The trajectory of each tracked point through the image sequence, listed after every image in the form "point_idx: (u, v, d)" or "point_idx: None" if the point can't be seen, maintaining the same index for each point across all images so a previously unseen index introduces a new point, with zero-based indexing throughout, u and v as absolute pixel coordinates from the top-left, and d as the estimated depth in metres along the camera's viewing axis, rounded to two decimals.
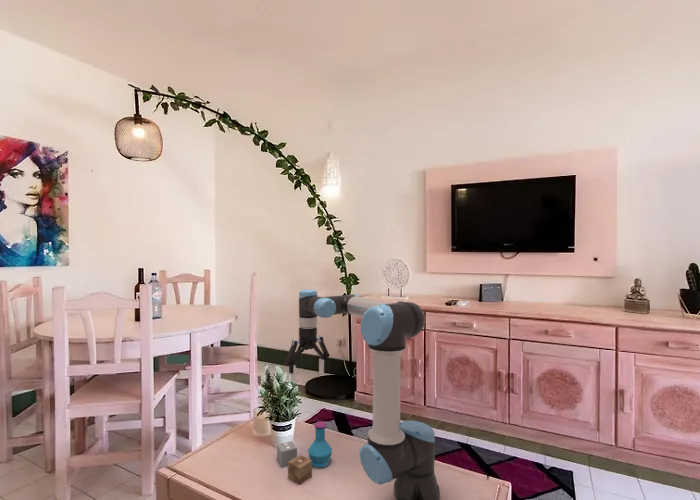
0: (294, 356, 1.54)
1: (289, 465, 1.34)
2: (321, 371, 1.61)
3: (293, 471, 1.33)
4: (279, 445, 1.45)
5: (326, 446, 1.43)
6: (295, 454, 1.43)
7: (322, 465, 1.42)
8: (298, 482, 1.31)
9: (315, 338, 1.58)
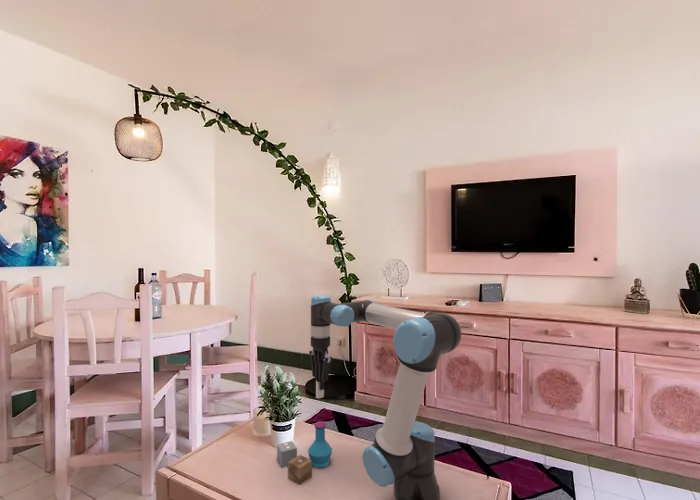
0: None
1: (289, 465, 1.34)
2: None
3: (293, 471, 1.33)
4: (279, 445, 1.45)
5: (326, 446, 1.43)
6: (295, 454, 1.43)
7: (322, 465, 1.42)
8: (298, 482, 1.31)
9: (322, 352, 1.41)
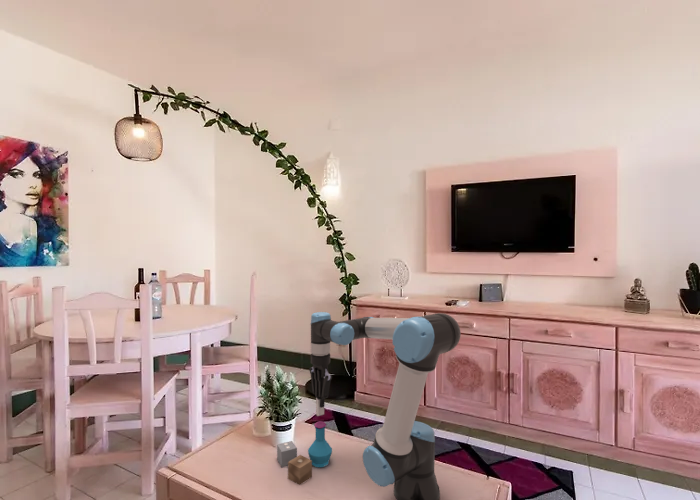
0: None
1: (289, 465, 1.34)
2: None
3: (293, 471, 1.33)
4: (279, 445, 1.45)
5: (326, 446, 1.43)
6: (295, 454, 1.43)
7: (322, 465, 1.42)
8: (298, 482, 1.31)
9: (323, 369, 1.41)
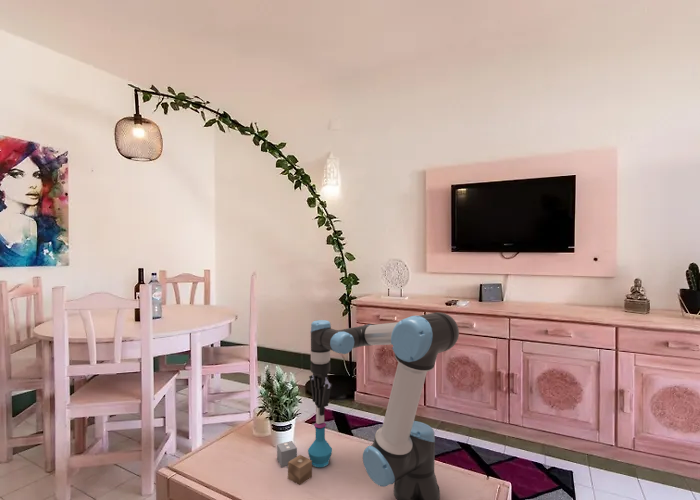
0: None
1: (289, 465, 1.34)
2: None
3: (293, 471, 1.33)
4: (279, 445, 1.45)
5: (326, 446, 1.43)
6: (295, 454, 1.43)
7: (322, 465, 1.42)
8: (298, 482, 1.31)
9: (323, 378, 1.41)
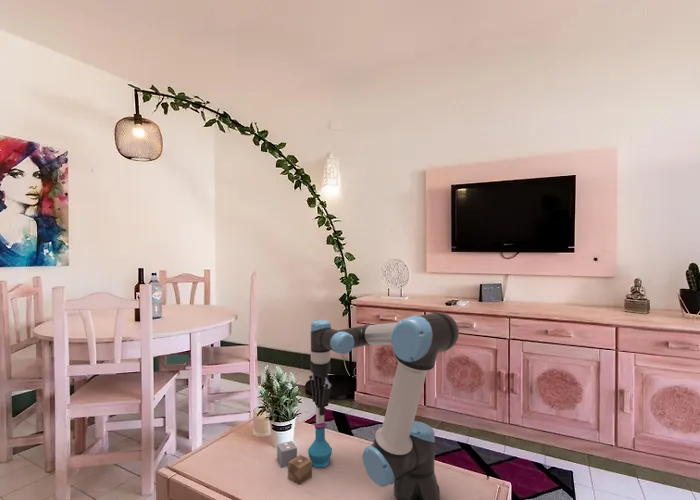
0: None
1: (289, 465, 1.34)
2: None
3: (293, 471, 1.33)
4: (279, 445, 1.45)
5: (326, 446, 1.43)
6: (295, 454, 1.43)
7: (322, 465, 1.42)
8: (298, 482, 1.31)
9: (323, 378, 1.41)
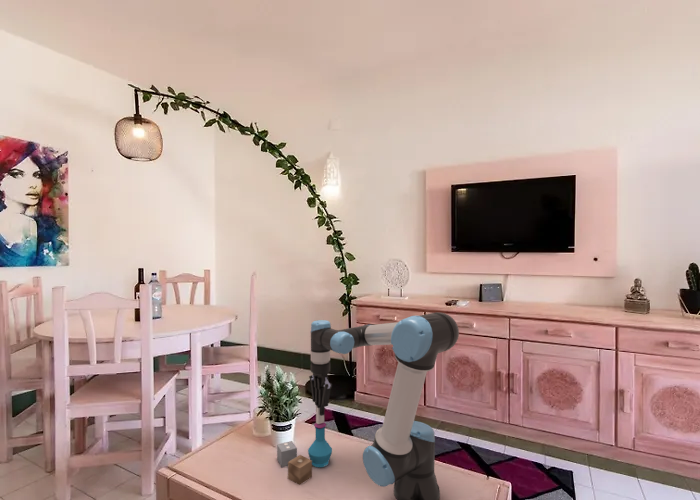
0: None
1: (289, 465, 1.34)
2: None
3: (293, 471, 1.33)
4: (279, 445, 1.45)
5: (326, 446, 1.43)
6: (295, 454, 1.43)
7: (322, 465, 1.42)
8: (298, 482, 1.31)
9: (323, 378, 1.41)
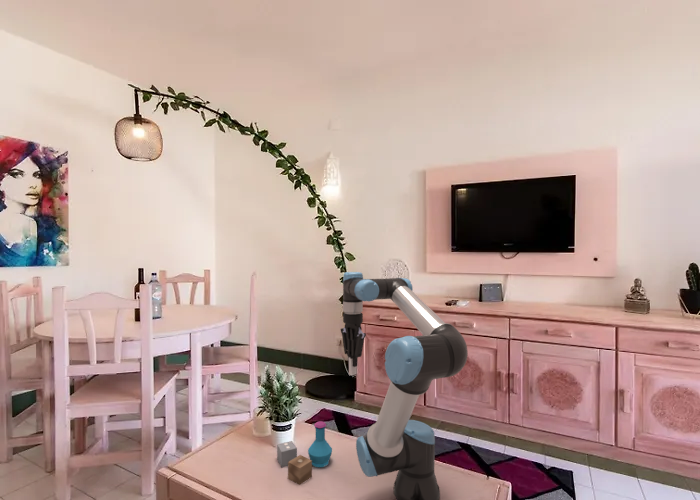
0: None
1: (289, 465, 1.34)
2: None
3: (293, 471, 1.33)
4: (279, 445, 1.45)
5: (326, 446, 1.43)
6: (295, 454, 1.43)
7: (322, 465, 1.42)
8: (298, 482, 1.31)
9: (356, 328, 1.40)
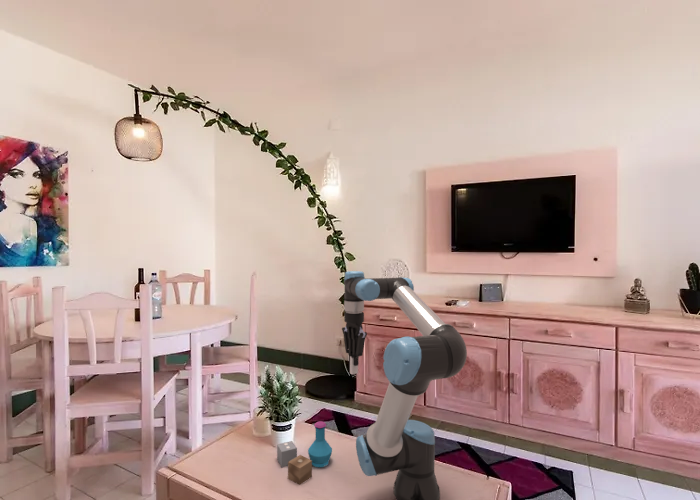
0: None
1: (289, 465, 1.34)
2: None
3: (293, 471, 1.33)
4: (279, 445, 1.45)
5: (326, 446, 1.43)
6: (295, 454, 1.43)
7: (322, 465, 1.42)
8: (298, 482, 1.31)
9: (357, 327, 1.40)
